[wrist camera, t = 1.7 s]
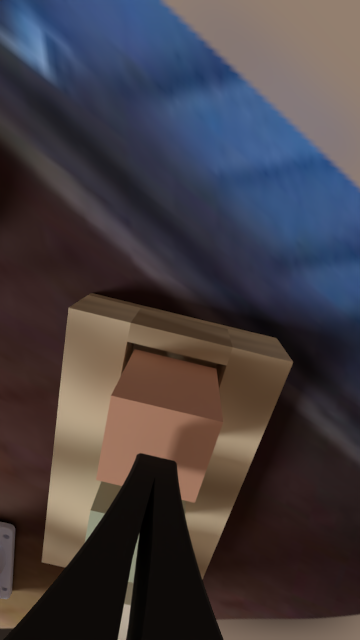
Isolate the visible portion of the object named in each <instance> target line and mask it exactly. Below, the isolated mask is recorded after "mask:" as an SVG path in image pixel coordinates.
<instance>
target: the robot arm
mask: <svg viewBox="0 0 360 640" xmlns="http://www.w3.org/2000/svg"><path fill="white" fill-rule="evenodd" d="M138 536H139V541H138V549H137V557H136V565H135V574H134V582H133V590H132V599H131V607H130V616H129V624H128V630H127V637H126V640H223V637H222V635H221V632H220V629H219V626H218V624H217V621H216V618H215V616H214V613H213V610H212V607H211V604H210V601H209V598H208V595H207V593H206V590H205V587H204V583H203V580H202V577H201V574H200V571H199V567H198V564H197V560H196V557H195V553H194V550H193V546H192V542H191V539H190V535H189V531H188V526H187V522H186V518H185V513H184V509H183V504H182V499H181V493H180V487H179V480H178V471H177V463H176V462H175V461H173V460H168V459H164V458H160V457H156V456H151V455H147V454H143V453H139V454H137V455H136V458H135V461H134V464H133V466H132V468H131V470H130V472H129V474H128V476H127V478H126V480H125V482H124V484H123V485H122V487H121V489H120V491H119V492H118V494H117V495H116V497H115V499H114V500H113V502H112V504H111V505H110V507H109V508H108V510H107V511H106V513H105V514H104V516H103V517H102V519H101V520H100V522H99V523H98V525H97V526H96V527H95V529H94V530H93V532H92V533H91V535H90V536H89V537H88V539H87V540H86V542H85V543H84V544H83V546H82V547H81V548H80V550H79V551H78V552H77V554H76V555H75V556H74V558H73V559H72V560H71V561H70V563H69V564H68V565H67V566H66V568H65V569H64V570H63V571H62V573H61V574H60V575H59V576H58V578H57V579H56V580H55V581H54V582H53V584H52V585H51V586H50V587H49V588H48V590H47V591H46V592H45V593H44V594H43V596H42V597H41V598H40V599H39V600H38V602H37V603H36V604H35V605H34V606H33V607H32V609H31V610H30V611H29V612H28V613H27V614H26V615H25V617H24V618H23V619H22V620H21V621H20V622H19V623H18V624H17V625H16V627H15V628H14V629H13V630H12V631H11V632H10V633H9V634H8V635H7V637H6V638H5V639H4V640H118V635H119V629H120V624H121V618H122V613H123V607H124V602H125V597H126V591H127V586H128V580H129V575H130V570H131V564H132V559H133V555H134V551H135V547H136V544H137V540H138ZM14 546H15V527H14V526H13V525H12V524H9V523H4V522H0V598H2V599H8V598H9V597H10V595H11V593H12V583H13V564H14Z"/></svg>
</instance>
